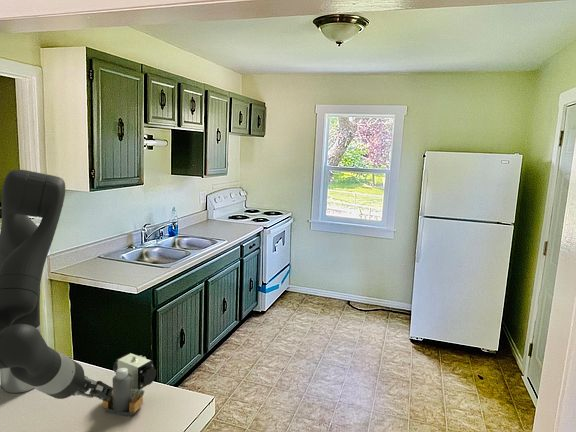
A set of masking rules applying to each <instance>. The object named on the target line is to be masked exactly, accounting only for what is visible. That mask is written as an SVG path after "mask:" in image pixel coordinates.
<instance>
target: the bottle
mask: <svg viewBox="0 0 576 432" xmlns="http://www.w3.org/2000/svg"><path fill="white" fill-rule="evenodd" d="M112 388H113V409H114V410H115V411H125V410H127V409H129V403H130V402H131V401H132V376H131V375H130V374H128V369H127V368H120V369H118V370H117V371H116V373H115V375H114V376H113V377H112Z"/></svg>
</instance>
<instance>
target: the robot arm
mask: <svg viewBox="0 0 576 432" xmlns="http://www.w3.org/2000/svg"><path fill="white" fill-rule="evenodd" d="M0 195H1V196H0V198H1V199H0V201H1V203H0V205H1V226H0V388H3V390H4V391H5V392H7V393H9V394H10V393H11V394H19V393H25V392H28V391H31V390H33V389H35V390H36V391H39V392H41V393H42V394H45V395H48V396H49V397H52V398H54V399H59V400H63V399H66V398H67V399H68V398H69V397H72V396H74V397H75V396H82V397H86V398H88V399H92V398H96V399H99V400H102V402H103V401H105V402H108V401H109V400H110V399H111V396H112V391H113V386H110V385H109V384H107V383H105V382H103V381H101V380H94V379H91V378H89V377H88V376H87V375H85V370H84V367H83V366H82V365H81V364H80V363H79V362H77V361H76V360H74V359H72V358H71V357H69V356H67V355H66V354H64V353H62V352H59V351H56V350H55V349H53V348H52V347H50V346H48V344H47V342H46V340H45V338H44V337H43V335H42V334H41V333H42V332H41V308H40V307H41V304H40V303H41V281H42V276H43V272H44V267H45V263H46V261H47V258H48V254H49V251H50V249H51V246H52V243H53V240H54V237H55V234H56V231H57V228H58V225H59V221H60V217H61V215H62V214H61V213H62V211H63V207H64V202H65V197H66V183H65V181H64V179H63V178H62V177H59V176H56V175H51V174H48V173H47V174H45V173H41V172H35V171H31V170H28V169H27V170H26V169H17V168H16V169H12V170H10V171H9V172H8V173H7V174H6V175H5V178H4V180H3V183H2V188H1V194H0ZM30 217H35V218H40V219H41V220H40V222H39V224H38V225H37V224H36V223H35V222H34V221H33V220H32V219H31V218H30ZM88 391H89V393H87V392H88Z"/></svg>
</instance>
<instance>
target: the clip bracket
mask: <svg viewBox="0 0 576 432" xmlns="http://www.w3.org/2000/svg"><path fill="white" fill-rule="evenodd" d="M143 396H144V395H138V394H137V395H136V397H135V398H134V399H133V400H132V401H131V402H130V403H129V409H127V410H125V411H115V410H114V409H113V391H112V396H111V399H110V400H109V401H108V402H105V401H103V400H102V408H104V413H107V414H113V415H118V416H119V415H120V416H124V417H130V418H131V417H133V415H134V414H136V412H137V411H138V410H139V409H140V408H141V407H142V405H143V403H144V399H143V398H144V397H143Z"/></svg>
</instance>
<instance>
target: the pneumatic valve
mask: <svg viewBox="0 0 576 432" xmlns="http://www.w3.org/2000/svg"><path fill="white" fill-rule="evenodd" d="M120 368H127V369H128V374H130V375H131V376H132V400H133V399H134V398H135V397H136V395H137V394H138V395H143V396H144V395H145V390H144V389H143V388H145V387H147V386H149V385H151V384H152V383H153V382H154V381H155V378H156V377H157V370H156V369H155V366H154V361H153V360H151V359H147V357H146V356H143V355H138V354H134V353H131V352H129V353H126V354H124V355H121V356H120V357H118V358H116V359H115V362H113V366H112V369H113V372H114V373H115V374H116V371H117V370H118V369H120Z"/></svg>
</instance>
